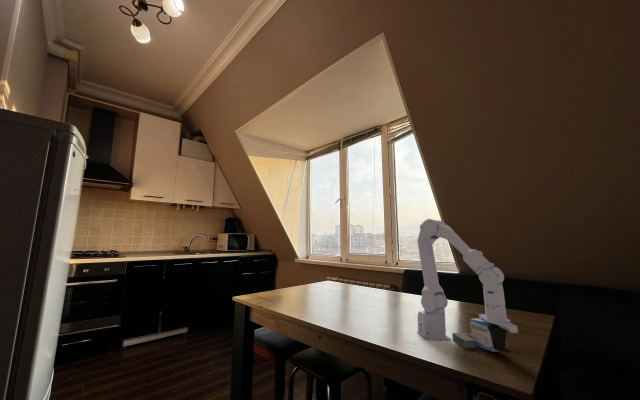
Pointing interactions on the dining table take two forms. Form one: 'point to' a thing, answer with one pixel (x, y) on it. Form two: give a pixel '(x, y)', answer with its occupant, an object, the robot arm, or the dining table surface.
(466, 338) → the grey flat block
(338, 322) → the dining table surface
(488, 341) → the medicine box
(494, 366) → the dining table surface
